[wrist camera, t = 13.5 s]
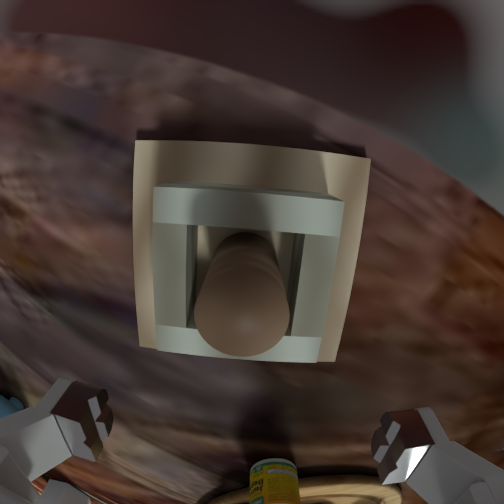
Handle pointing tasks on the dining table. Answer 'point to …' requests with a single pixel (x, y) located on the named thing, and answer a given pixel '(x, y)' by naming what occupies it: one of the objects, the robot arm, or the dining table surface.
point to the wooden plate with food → (331, 491)
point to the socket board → (245, 220)
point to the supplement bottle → (274, 482)
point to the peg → (242, 298)
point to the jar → (62, 494)
